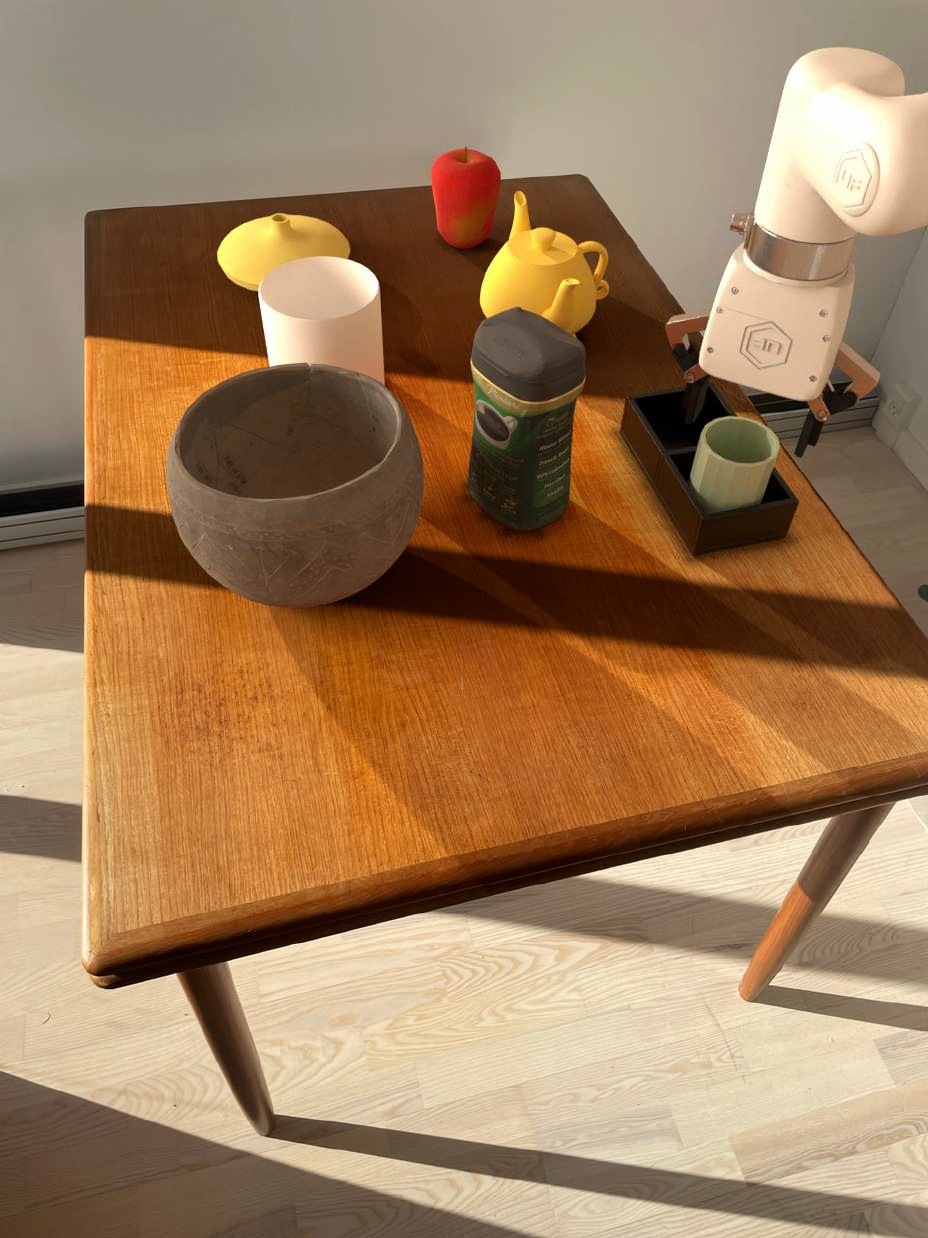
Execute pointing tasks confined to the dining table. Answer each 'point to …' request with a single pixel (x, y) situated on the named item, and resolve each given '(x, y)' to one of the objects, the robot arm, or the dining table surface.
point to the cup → (323, 315)
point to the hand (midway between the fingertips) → (746, 431)
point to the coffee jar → (523, 417)
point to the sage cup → (733, 464)
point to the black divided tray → (667, 465)
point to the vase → (276, 246)
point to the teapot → (544, 275)
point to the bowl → (296, 483)
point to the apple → (465, 196)
